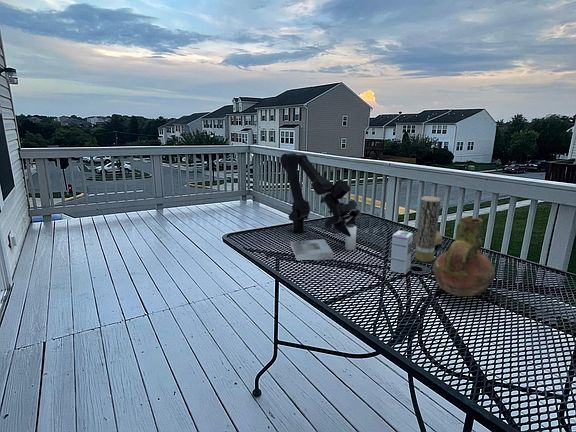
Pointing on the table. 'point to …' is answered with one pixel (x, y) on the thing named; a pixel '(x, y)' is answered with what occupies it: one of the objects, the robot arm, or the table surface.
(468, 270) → the ceramic vessel
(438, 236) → the bread roll
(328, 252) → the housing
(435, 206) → the paper tube
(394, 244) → the syrup box
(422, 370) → the table surface
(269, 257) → the table surface
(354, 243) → the plug
